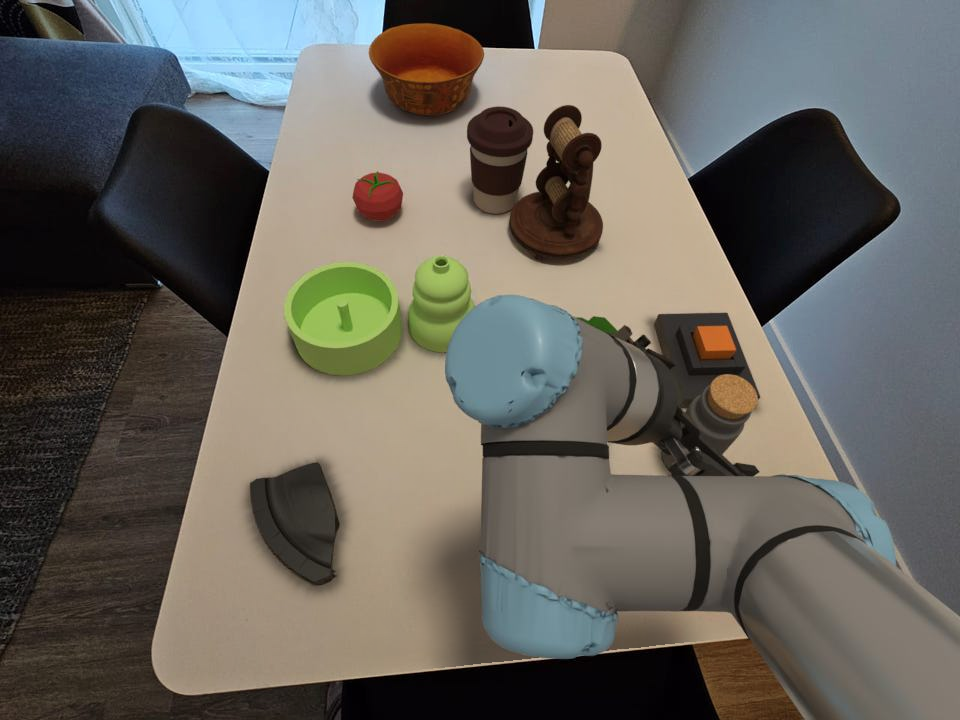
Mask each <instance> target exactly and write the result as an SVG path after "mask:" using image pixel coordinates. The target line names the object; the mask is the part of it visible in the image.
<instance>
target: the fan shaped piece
mask: <svg viewBox="0 0 960 720" xmlns="http://www.w3.org/2000/svg"><path fill="white" fill-rule="evenodd" d="M249 494H250V504H251V509H252V513H253V517H254V520H255V523H256V525H257V528H258V531H259V532H260V534H261V536H262V538H263V539H264V541H265V542H266V544H267V545H268V546H269V548H270V549H271V550H272V551H273V552H274V553H275V555H276V556H277V557H278V558H279V559H280V561H281V562H283V563H284V564H285V565H286V566H287V567H289V568H290V569H291V570H292V571H293V572H295V573H296V574H298V575H300V576H301V577H303V578H304V579H307V580H309V581H311V582H313V583H315V584H317V585H323V584H327V583H329V582H332V581H333V579H334V578H333V575H334V574H335V573H336V572H337V570H334V569H333V555H334V554H333V552H334V545H335V541H336V537H337V532H338V530H339V528H340V520H339V517H338V513H337V509H336V505H335V502H334V499H333V496H332V492H331V489H330V487H329V484H328V481H327V480H326V477H325V474H324V471H323V468H322V466H321V464H320V462H318V461H317V462H311V463H307V464H305V465H304V464H303V465H301V466H298V467H294V468H293V469H290V470H289V471H286V472H284V473H282V474H279V475H276V476H272V477H260V478H256V479H254V480H252V481H250V482H249Z"/></svg>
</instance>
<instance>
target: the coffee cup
mask: <svg viewBox="0 0 960 720" xmlns="http://www.w3.org/2000/svg"><path fill="white" fill-rule="evenodd" d="M533 138H534V128H533V124H532V123H531V122H530V121H529V120H528V119H527V118H526V117H525V116H523V115H522V114H521V113H520V112H519V111H518V110H516V109H514V108H511V107H508V106H499V105H498V106H491V107H487V108H485V109H483V110H482V111H481V112H479V113H478V114H475V115H474V116H473V117H472V118H471V119H470V120H469V121H468V123H467V126H466V139H467V141H468V143H469V145H470V148H469V157H470V159H469V160H470V178H471V179H470V180H471V183H472V191H473V192H472V193H473V201H474V203H475V205H476V206H477V208H479V209H480V210H481V211H483V212H486V213H489V214H494V215H495V214H504V213H507V212H509V211H511V210H512V208H513V207H514V205H515V204H516V203H517V202H518V196H519V192H520V188H521V185H522V183H523V179H524V173H525V167H526V162H527V158H528V149H529V148H530V147H531V145H532V144H533V140H534V139H533Z"/></svg>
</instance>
